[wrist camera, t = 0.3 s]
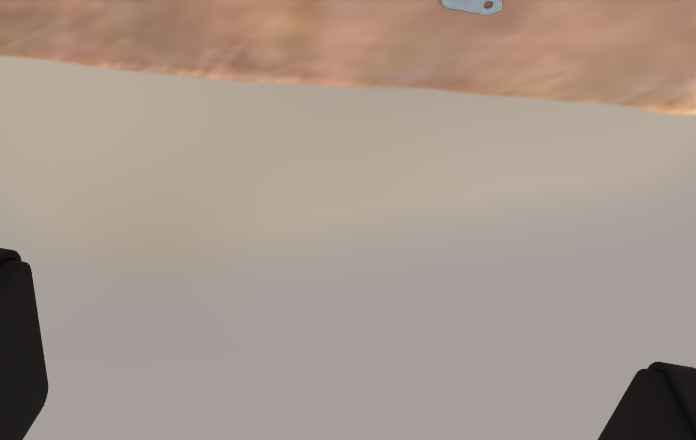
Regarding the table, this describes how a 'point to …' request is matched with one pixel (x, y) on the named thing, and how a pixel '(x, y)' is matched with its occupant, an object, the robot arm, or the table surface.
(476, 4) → the metal bracket
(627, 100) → the table surface
